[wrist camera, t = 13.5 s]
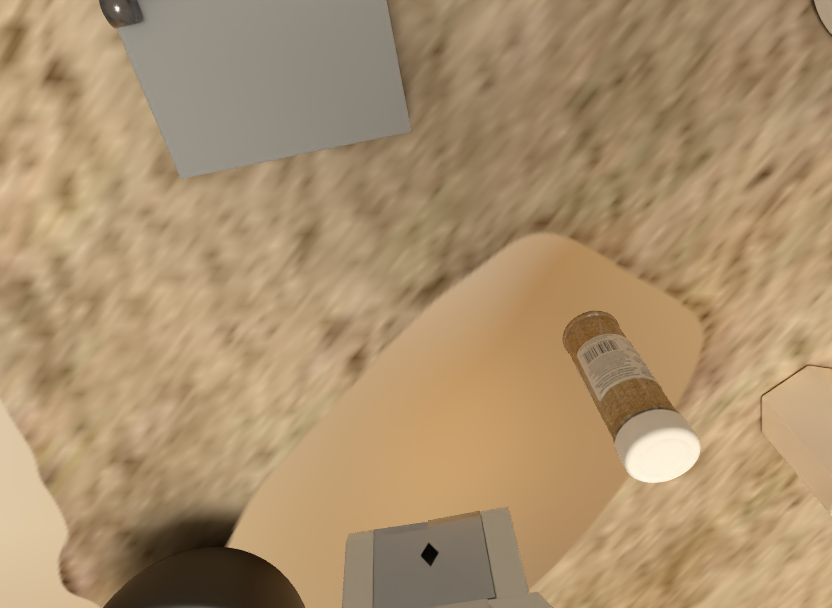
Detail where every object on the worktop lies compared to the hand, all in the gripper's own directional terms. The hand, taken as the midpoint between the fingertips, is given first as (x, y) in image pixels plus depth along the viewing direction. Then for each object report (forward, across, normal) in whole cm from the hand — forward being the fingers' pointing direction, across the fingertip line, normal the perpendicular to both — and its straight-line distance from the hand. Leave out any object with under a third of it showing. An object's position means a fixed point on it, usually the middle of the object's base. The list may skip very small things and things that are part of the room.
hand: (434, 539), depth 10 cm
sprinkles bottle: (+29, -12, +18) cm, 36 cm away
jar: (+29, -31, +30) cm, 52 cm away
